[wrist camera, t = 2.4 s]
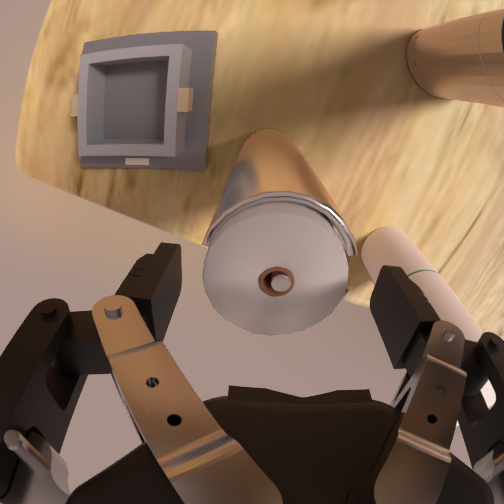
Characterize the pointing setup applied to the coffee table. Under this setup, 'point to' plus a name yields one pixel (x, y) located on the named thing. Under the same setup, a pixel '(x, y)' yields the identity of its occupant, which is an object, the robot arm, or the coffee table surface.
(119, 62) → the socket
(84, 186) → the coffee table surface
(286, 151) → the silver metal cylinder
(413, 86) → the coffee table surface
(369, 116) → the coffee table surface
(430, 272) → the cylindrical container
